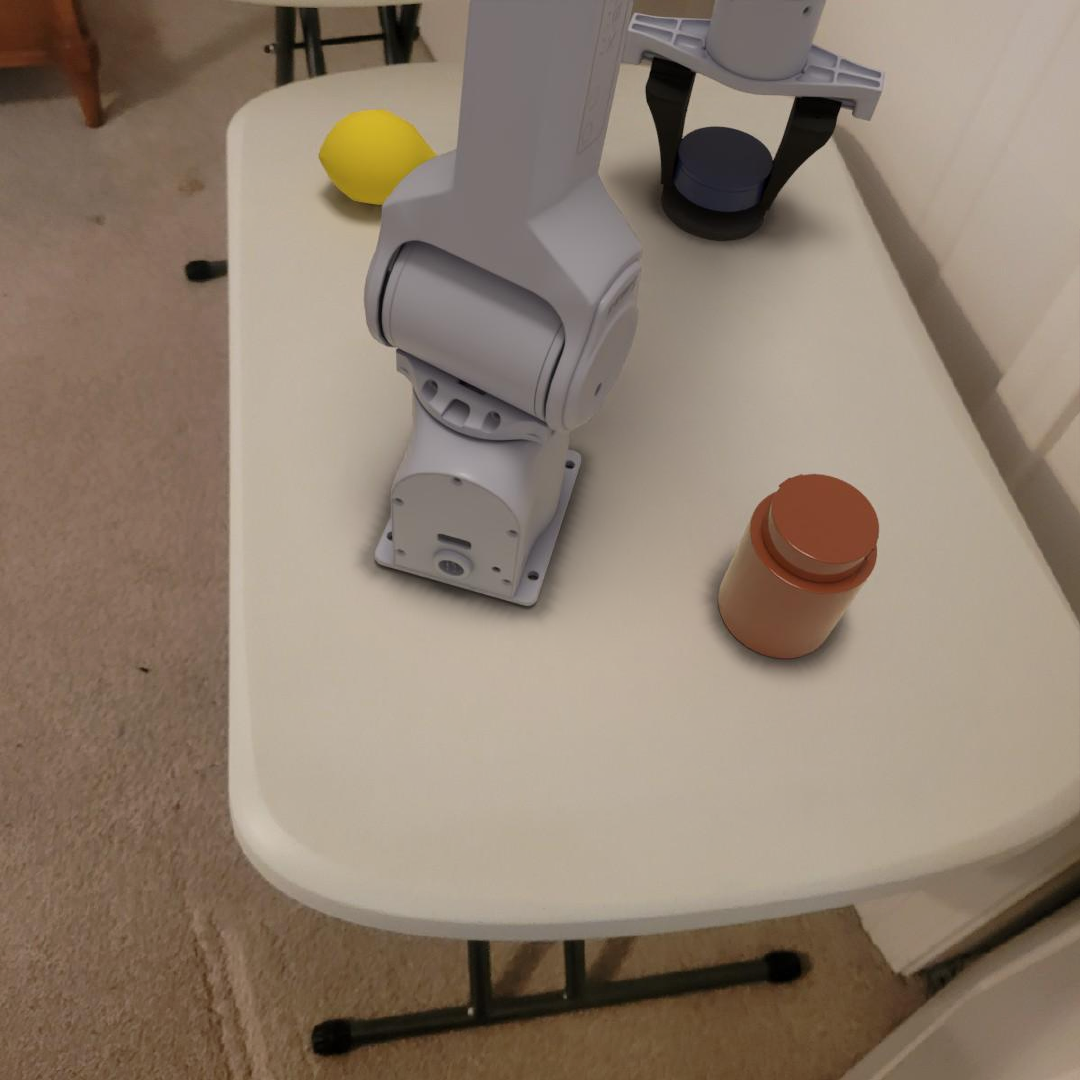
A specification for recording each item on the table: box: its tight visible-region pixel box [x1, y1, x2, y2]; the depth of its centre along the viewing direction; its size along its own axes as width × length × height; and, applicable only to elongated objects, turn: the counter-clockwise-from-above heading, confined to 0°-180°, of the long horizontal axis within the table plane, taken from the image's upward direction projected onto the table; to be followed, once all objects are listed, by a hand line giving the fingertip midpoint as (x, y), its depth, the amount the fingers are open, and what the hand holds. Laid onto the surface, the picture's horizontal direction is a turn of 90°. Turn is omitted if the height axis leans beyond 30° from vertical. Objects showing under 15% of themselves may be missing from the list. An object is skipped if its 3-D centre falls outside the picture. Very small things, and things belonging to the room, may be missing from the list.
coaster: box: [660, 180, 768, 241], centre depth 65 cm, size 7×7×1 cm
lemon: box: [318, 108, 438, 206], centre depth 61 cm, size 7×5×5 cm
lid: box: [673, 125, 774, 212], centre depth 63 cm, size 6×6×2 cm
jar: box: [717, 473, 880, 659], centre depth 46 cm, size 6×6×8 cm
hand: (717, 188), depth 65 cm, fingers closed on lid, 6 cm apart
